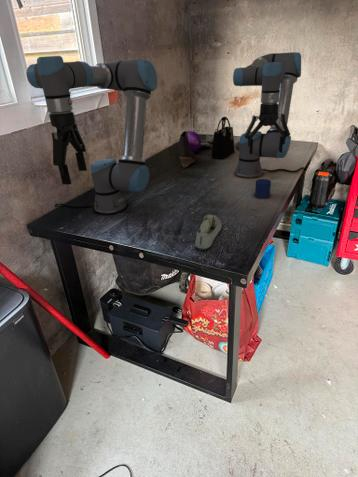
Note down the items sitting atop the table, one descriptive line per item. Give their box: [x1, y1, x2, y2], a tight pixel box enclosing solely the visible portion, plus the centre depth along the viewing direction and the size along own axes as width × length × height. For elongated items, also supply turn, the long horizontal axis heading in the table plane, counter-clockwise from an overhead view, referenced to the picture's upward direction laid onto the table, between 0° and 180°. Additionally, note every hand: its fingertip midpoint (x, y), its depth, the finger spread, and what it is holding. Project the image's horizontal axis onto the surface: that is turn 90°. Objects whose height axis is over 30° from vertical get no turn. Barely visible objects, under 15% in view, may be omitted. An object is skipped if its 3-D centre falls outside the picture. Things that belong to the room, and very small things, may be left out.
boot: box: [178, 130, 197, 169], centre depth 209 cm, size 9×24×20 cm, turn 168°
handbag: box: [211, 116, 236, 160], centre depth 219 cm, size 21×9×25 cm, turn 148°
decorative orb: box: [178, 130, 201, 154], centre depth 230 cm, size 15×15×15 cm
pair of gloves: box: [199, 134, 214, 149], centre depth 251 cm, size 30×26×5 cm
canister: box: [254, 178, 272, 199], centre depth 160 cm, size 7×7×7 cm
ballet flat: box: [194, 214, 223, 251], centre depth 128 cm, size 8×24×8 cm, turn 163°
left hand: (75, 177), depth 114 cm, fingers open, 13 cm apart
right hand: (265, 152), depth 151 cm, fingers open, 13 cm apart
